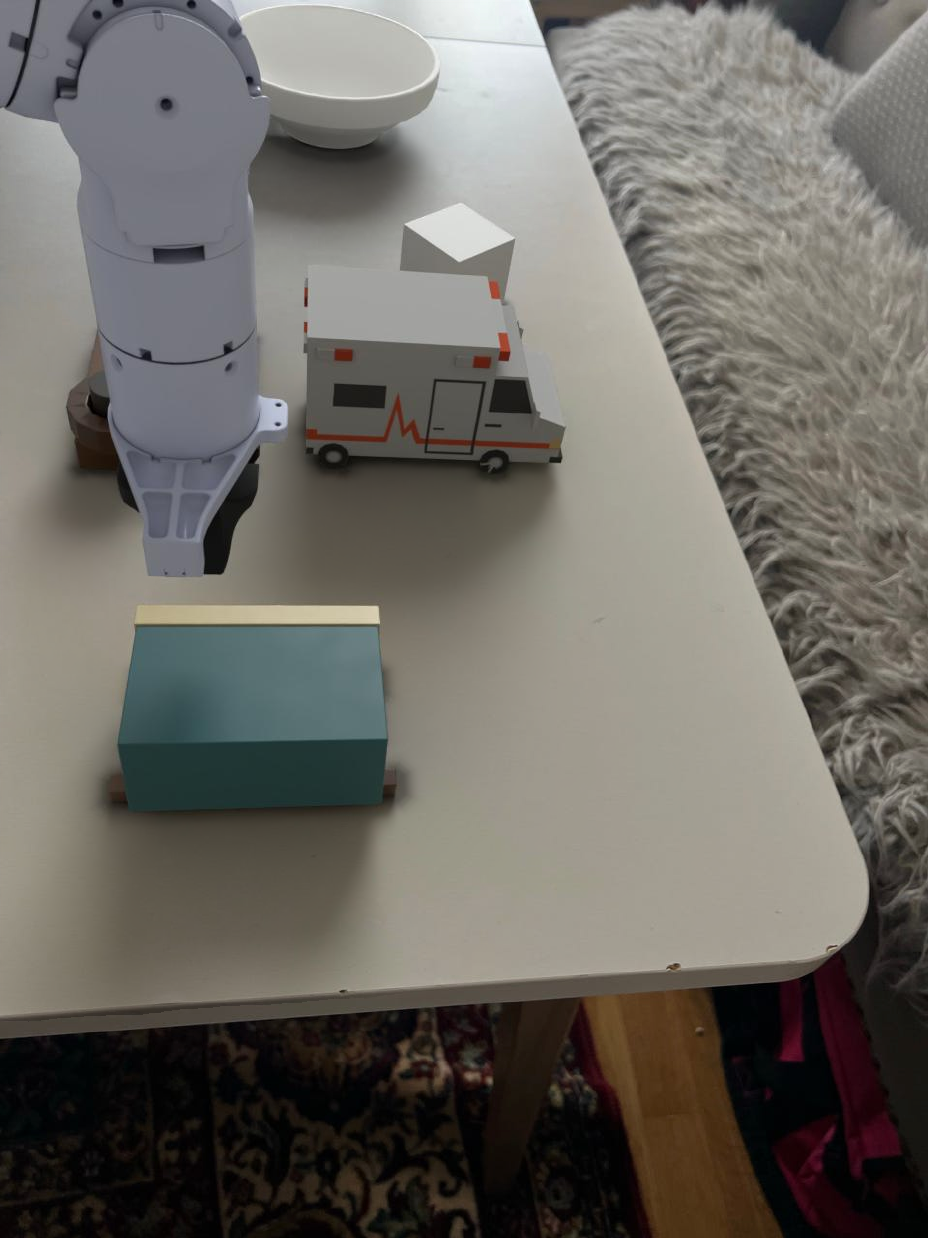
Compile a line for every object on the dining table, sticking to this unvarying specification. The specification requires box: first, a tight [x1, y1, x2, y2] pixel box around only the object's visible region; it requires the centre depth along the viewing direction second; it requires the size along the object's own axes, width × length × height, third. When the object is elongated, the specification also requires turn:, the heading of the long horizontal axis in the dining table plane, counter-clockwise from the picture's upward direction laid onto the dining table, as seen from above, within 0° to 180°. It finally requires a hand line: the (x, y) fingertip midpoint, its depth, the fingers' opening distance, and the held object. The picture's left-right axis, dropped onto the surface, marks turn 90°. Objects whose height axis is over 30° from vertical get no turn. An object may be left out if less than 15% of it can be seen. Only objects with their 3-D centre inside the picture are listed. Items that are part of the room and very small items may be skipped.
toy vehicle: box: [302, 264, 567, 475], centre depth 66 cm, size 10×17×10 cm, turn 95°
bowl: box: [238, 3, 442, 150], centre depth 93 cm, size 20×20×7 cm
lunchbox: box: [116, 604, 389, 812], centre depth 50 cm, size 12×5×9 cm
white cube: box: [399, 202, 516, 305], centre depth 78 cm, size 6×6×6 cm
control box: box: [65, 328, 120, 470], centre depth 67 cm, size 10×15×4 cm
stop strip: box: [108, 768, 398, 803], centre depth 51 cm, size 14×1×1 cm, turn 96°
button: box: [89, 370, 110, 419], centre depth 61 cm, size 3×3×2 cm
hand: (202, 563), depth 48 cm, fingers closed
